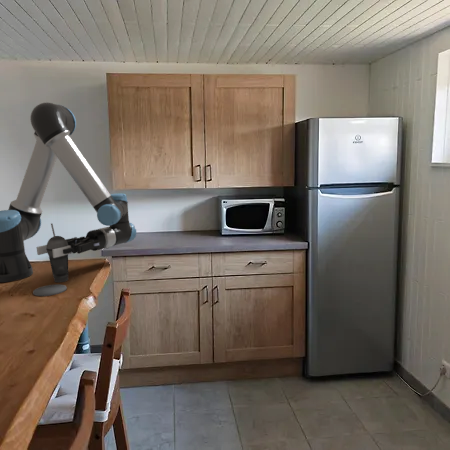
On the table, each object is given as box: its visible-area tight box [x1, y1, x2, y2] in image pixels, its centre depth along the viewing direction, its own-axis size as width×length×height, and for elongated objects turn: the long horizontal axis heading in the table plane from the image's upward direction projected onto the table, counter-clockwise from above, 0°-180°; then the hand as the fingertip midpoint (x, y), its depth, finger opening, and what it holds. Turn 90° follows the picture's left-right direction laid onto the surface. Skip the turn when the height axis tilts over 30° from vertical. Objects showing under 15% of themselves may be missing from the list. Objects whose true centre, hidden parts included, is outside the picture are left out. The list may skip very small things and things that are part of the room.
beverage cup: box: [46, 222, 69, 283], centre depth 155 cm, size 7×7×20 cm
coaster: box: [32, 283, 68, 297], centre depth 145 cm, size 10×10×1 cm
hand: (45, 252), depth 151 cm, fingers open, 8 cm apart
